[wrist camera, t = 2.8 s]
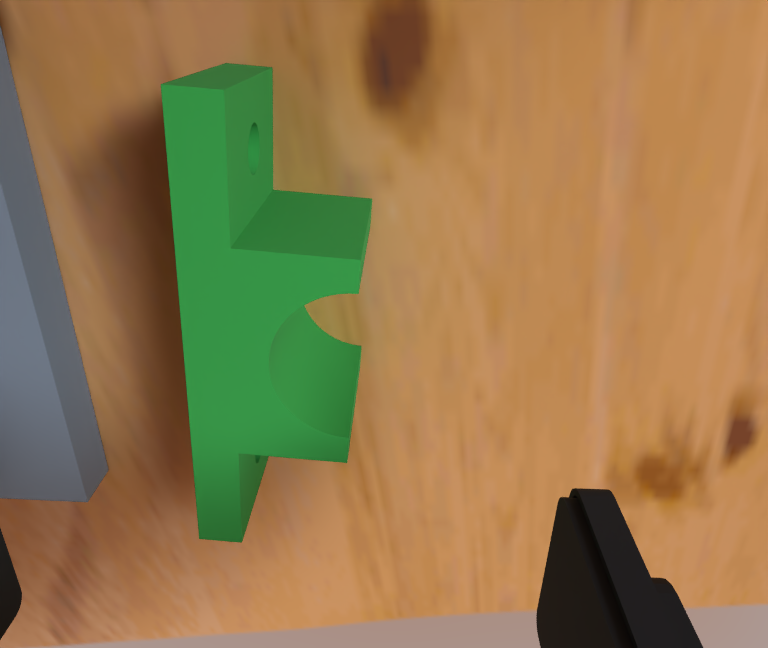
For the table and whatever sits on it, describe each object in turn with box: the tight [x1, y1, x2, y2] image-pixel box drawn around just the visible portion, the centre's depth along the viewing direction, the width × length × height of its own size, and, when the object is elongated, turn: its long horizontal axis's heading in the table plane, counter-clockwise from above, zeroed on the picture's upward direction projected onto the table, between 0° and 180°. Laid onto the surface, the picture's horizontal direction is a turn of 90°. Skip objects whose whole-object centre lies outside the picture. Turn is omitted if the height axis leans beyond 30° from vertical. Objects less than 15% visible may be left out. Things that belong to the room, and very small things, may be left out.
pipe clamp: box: [161, 63, 372, 542], centre depth 15 cm, size 11×4×5 cm, turn 175°
